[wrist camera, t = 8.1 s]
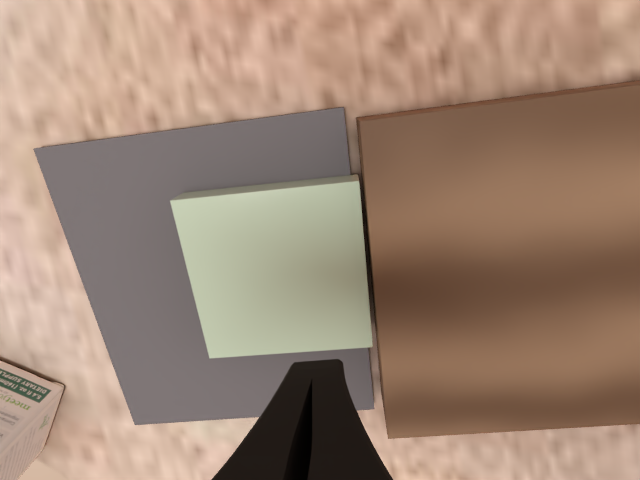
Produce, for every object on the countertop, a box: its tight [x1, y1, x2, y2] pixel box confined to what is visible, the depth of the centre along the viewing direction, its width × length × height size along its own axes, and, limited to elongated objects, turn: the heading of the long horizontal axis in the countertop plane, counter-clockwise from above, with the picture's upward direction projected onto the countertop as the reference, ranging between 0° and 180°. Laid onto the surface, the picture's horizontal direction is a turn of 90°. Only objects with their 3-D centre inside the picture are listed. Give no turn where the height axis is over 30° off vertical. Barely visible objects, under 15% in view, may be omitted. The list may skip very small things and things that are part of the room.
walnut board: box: [356, 81, 640, 439], centre depth 17 cm, size 15×14×3 cm
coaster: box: [170, 174, 373, 358], centre depth 18 cm, size 8×8×2 cm
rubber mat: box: [34, 107, 374, 425], centre depth 20 cm, size 16×14×1 cm
